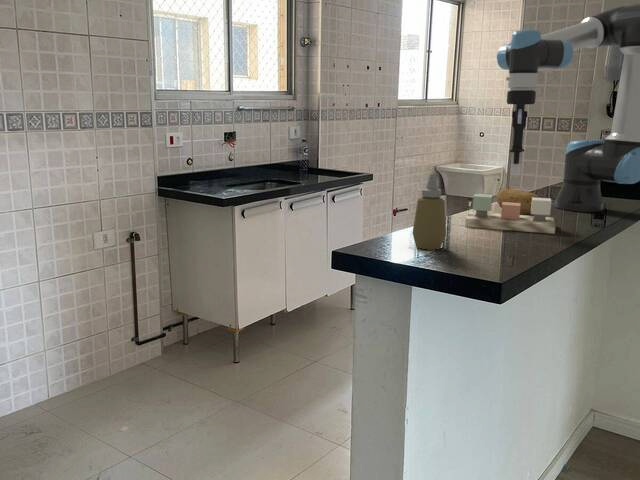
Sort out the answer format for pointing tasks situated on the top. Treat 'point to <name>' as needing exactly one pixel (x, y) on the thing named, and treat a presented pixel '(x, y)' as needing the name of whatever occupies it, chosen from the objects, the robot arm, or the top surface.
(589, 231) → the top surface
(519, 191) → the potato
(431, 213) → the squeeze bottle
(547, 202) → the block cream
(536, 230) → the board
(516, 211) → the block terracotta
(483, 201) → the block sage
